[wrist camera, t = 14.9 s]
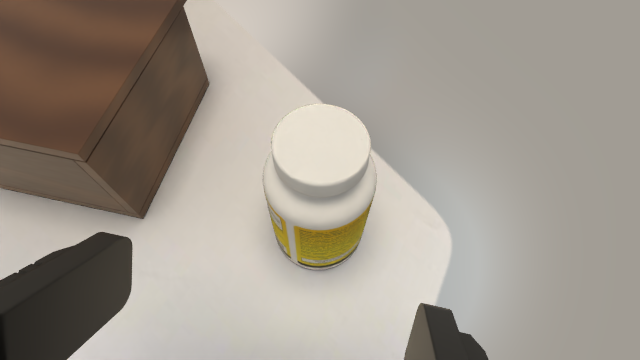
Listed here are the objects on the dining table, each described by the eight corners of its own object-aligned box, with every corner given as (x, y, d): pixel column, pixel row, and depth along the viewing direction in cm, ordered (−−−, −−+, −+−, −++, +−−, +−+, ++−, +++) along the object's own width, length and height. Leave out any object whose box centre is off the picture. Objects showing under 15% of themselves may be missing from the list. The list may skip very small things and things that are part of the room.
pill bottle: (375, 216, 27) (410, 124, 18) (334, 289, 25) (348, 227, 15) (304, 178, 29) (300, 73, 19) (258, 243, 26) (226, 159, 16)
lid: (43, -25, 28) (36, -36, 27) (188, -2, 27) (185, -12, 26) (-103, 123, 21) (-117, 114, 20) (85, 162, 20) (77, 154, 19)
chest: (91, 62, 34) (36, -18, 28) (209, 83, 33) (183, 6, 27) (-1, 187, 28) (-102, 123, 21) (143, 219, 27) (86, 162, 20)
